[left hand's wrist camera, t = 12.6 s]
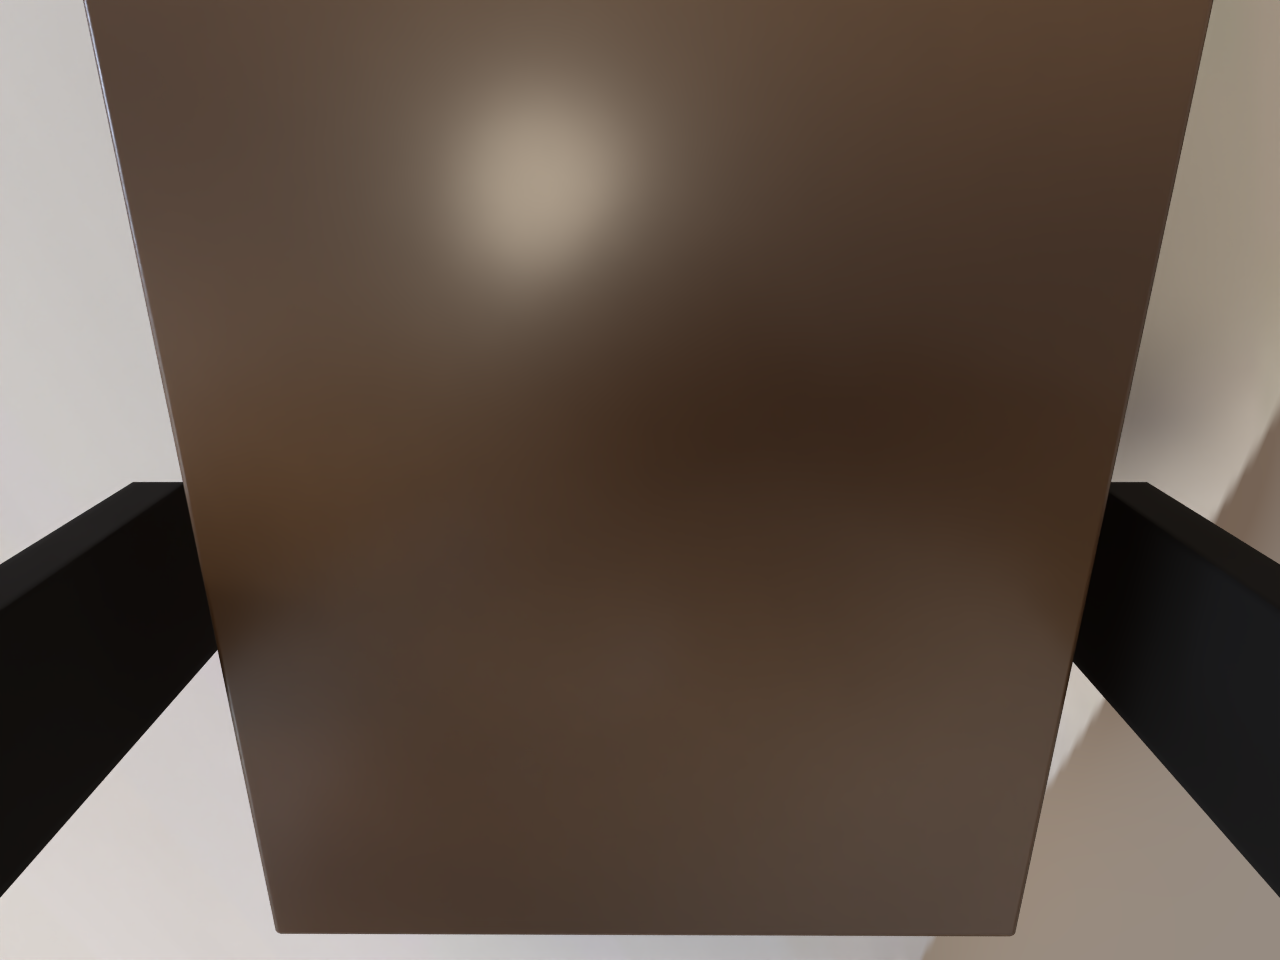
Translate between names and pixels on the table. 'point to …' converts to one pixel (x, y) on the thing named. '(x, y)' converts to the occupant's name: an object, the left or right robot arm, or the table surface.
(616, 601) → the brown rectangular box
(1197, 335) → the table surface
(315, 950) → the table surface
